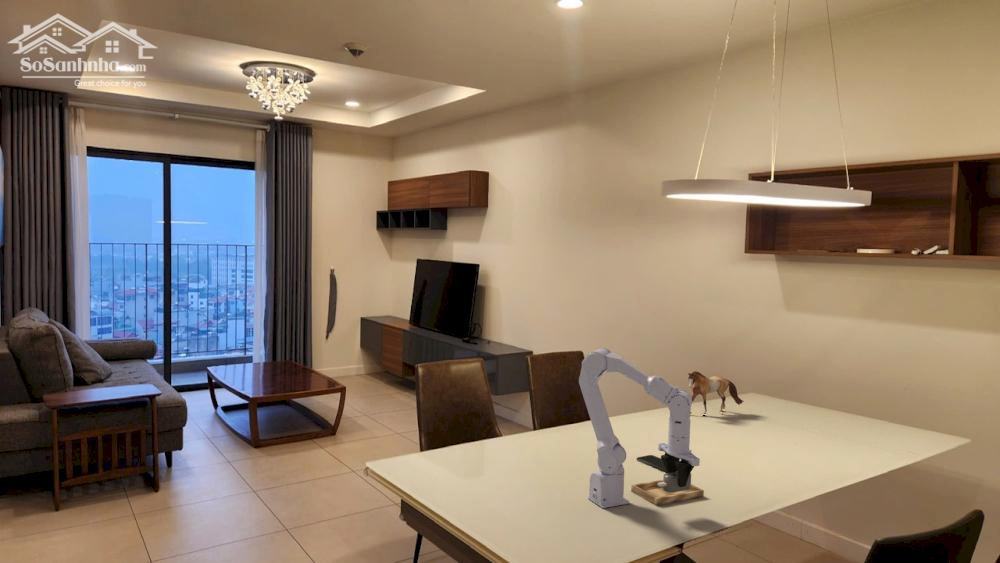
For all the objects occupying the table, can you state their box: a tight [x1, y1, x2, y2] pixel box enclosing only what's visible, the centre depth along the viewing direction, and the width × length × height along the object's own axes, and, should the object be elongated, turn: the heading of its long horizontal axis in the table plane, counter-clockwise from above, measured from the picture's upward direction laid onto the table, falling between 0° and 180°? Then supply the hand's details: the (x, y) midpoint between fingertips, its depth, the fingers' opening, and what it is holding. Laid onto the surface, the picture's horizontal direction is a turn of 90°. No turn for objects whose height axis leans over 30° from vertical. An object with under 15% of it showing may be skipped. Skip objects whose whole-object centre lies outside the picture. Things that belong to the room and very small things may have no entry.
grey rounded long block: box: [657, 472, 692, 493], centre depth 172 cm, size 11×4×4 cm, turn 115°
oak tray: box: [631, 479, 705, 506], centre depth 187 cm, size 18×12×2 cm, turn 115°
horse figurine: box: [687, 370, 745, 415], centre depth 284 cm, size 31×8×21 cm, turn 112°
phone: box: [636, 454, 667, 474], centre depth 213 cm, size 8×1×15 cm
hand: (677, 483), depth 173 cm, fingers closed on grey rounded long block, 4 cm apart
